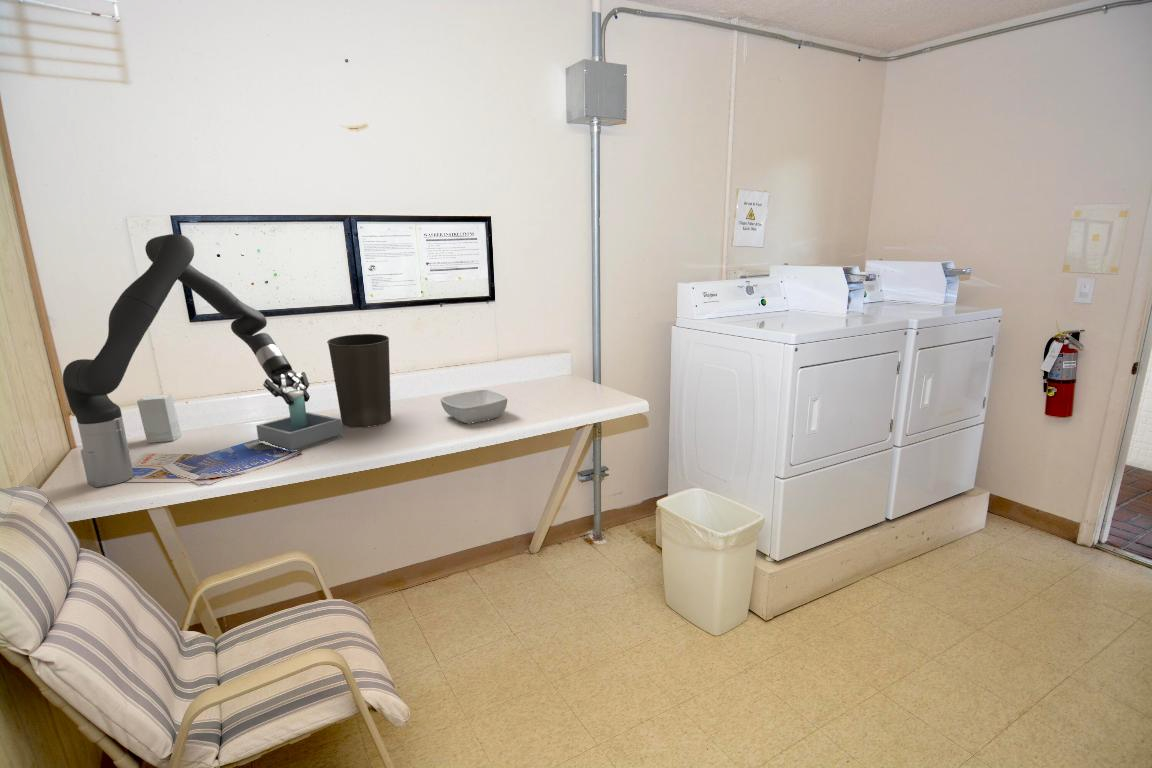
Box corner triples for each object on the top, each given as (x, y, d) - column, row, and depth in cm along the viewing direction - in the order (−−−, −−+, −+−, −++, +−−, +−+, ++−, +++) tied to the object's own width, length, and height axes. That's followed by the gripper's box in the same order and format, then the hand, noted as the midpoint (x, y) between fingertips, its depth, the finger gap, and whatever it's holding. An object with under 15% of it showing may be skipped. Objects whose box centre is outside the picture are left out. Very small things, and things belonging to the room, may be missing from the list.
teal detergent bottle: (296, 427, 184) (292, 394, 182) (288, 425, 187) (283, 392, 184) (310, 423, 188) (306, 391, 186) (301, 421, 191) (297, 389, 188)
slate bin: (291, 452, 177) (289, 433, 175) (258, 443, 186) (256, 425, 185) (342, 436, 191) (340, 419, 190) (309, 428, 201) (307, 412, 199)
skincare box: (181, 436, 195) (174, 393, 192) (173, 441, 189) (165, 397, 186) (154, 438, 193) (146, 395, 190) (144, 443, 188) (136, 399, 184)
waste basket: (399, 427, 200) (392, 342, 193) (336, 435, 193) (325, 346, 186) (393, 409, 225) (386, 332, 218) (337, 415, 217) (328, 336, 211)
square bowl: (461, 429, 197) (459, 407, 196) (437, 416, 213) (435, 396, 212) (513, 418, 209) (512, 398, 207) (486, 407, 225) (485, 388, 224)
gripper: (254, 358, 181) (282, 400, 177) (297, 351, 192) (324, 390, 189) (248, 373, 185) (274, 414, 181) (290, 365, 196) (316, 403, 193)
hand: (299, 401), depth 185 cm, fingers closed on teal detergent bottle, 4 cm apart
